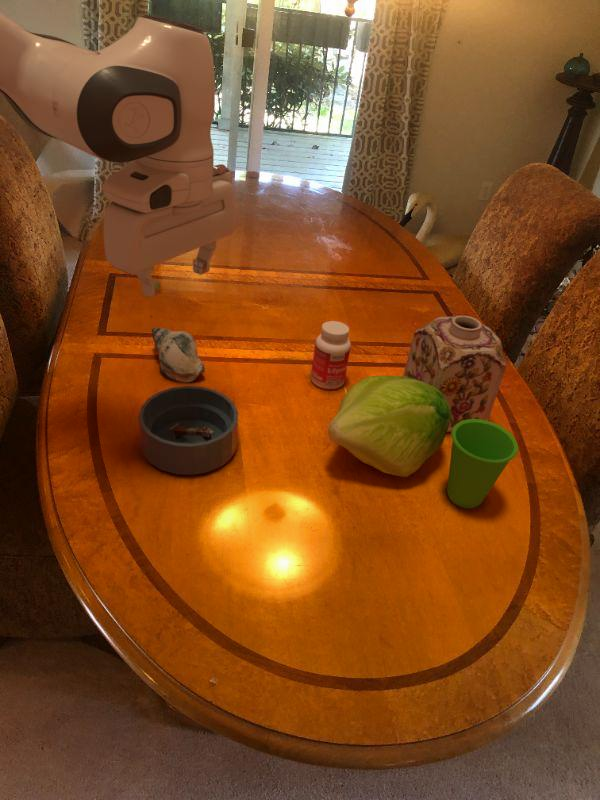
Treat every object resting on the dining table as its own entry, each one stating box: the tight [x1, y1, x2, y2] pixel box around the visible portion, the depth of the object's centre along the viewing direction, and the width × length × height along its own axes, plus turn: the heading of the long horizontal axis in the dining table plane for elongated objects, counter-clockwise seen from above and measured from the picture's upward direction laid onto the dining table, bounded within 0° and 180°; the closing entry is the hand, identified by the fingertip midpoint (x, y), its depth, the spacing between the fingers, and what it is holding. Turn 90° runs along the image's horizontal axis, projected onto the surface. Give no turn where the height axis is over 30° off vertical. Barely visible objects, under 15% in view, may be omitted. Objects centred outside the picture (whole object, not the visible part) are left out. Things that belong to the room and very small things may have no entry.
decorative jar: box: [402, 315, 507, 433], centre depth 101 cm, size 12×12×18 cm
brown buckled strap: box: [170, 423, 214, 441], centre depth 92 cm, size 2×8×4 cm, turn 57°
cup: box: [446, 419, 519, 509], centre depth 87 cm, size 9×9×11 cm
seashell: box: [151, 327, 206, 384], centre depth 108 cm, size 6×8×12 cm
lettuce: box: [327, 375, 451, 478], centre depth 92 cm, size 15×20×14 cm
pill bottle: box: [310, 320, 352, 390], centre depth 108 cm, size 6×6×11 cm
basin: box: [138, 385, 239, 476], centre depth 92 cm, size 14×14×6 cm
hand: (177, 283), depth 81 cm, fingers open, 8 cm apart
